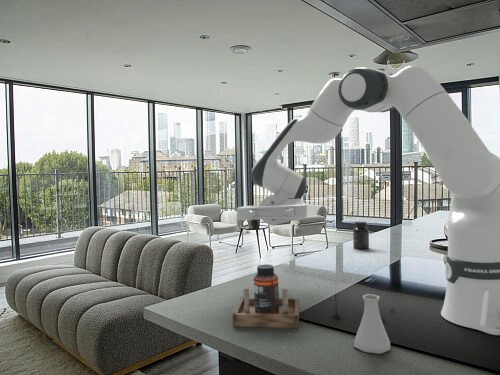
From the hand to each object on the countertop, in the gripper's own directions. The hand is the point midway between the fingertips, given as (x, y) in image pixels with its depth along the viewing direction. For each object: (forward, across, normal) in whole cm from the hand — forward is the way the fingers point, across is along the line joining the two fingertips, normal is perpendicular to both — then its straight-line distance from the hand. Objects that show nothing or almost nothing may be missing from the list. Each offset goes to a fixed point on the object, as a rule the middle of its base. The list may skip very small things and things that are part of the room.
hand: (269, 214), depth 104 cm
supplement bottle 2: (-74, +34, +24) cm, 85 cm away
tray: (+12, -1, +24) cm, 27 cm away
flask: (+26, +21, +25) cm, 42 cm away
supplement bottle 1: (+12, -1, +23) cm, 26 cm away
